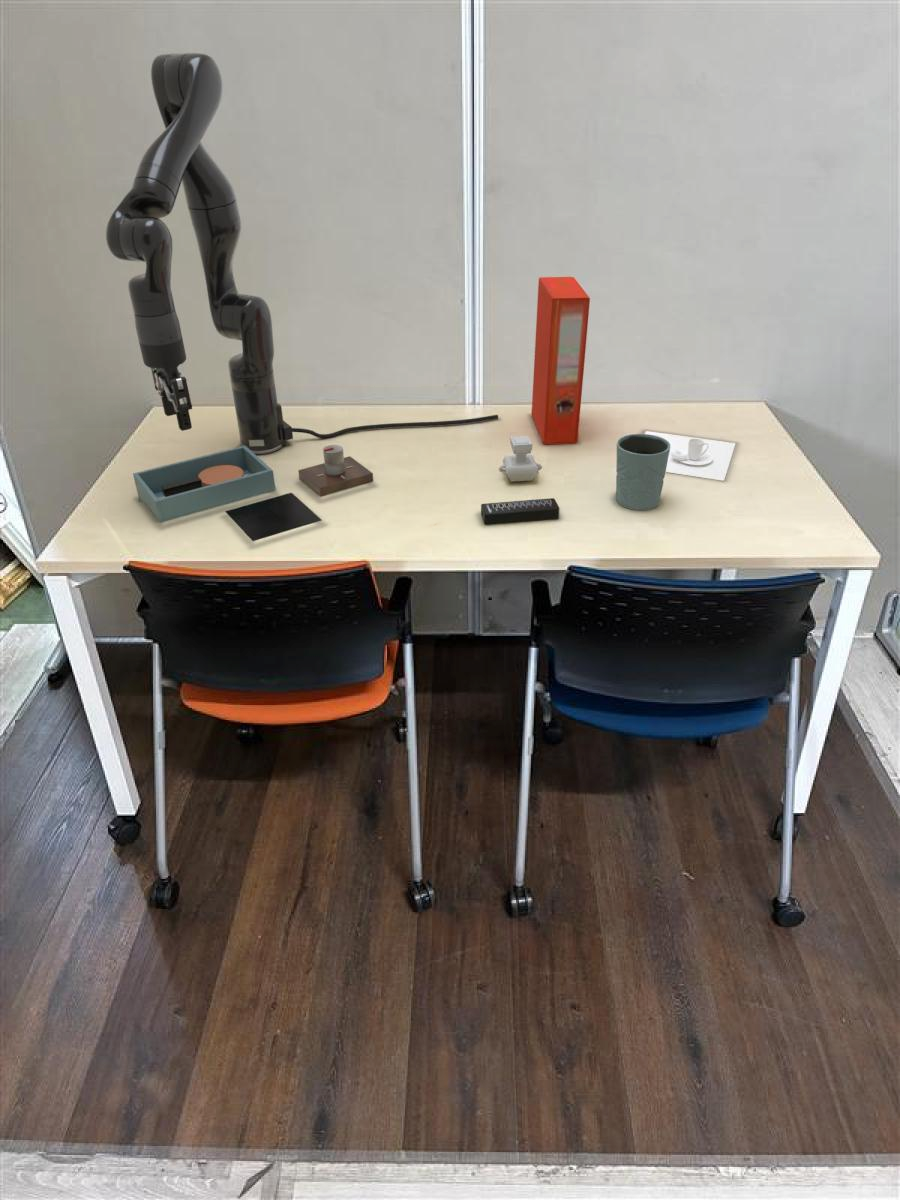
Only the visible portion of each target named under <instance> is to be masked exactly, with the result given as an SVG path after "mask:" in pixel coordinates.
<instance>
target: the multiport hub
mask: <svg viewBox="0 0 900 1200" xmlns="http://www.w3.org/2000/svg"><path fill="white" fill-rule="evenodd" d="M480 516H481V517H480V518H481V519H482V522H483V525H485V526H493V525H505V524H515V523H516V524H517V523H528V522H538V521H539V522H540V521H552V520H553V521H554V520H558V519H559V518H560V506H559V503H558V502H557V500H556V498H553V497H552V498H551V497H549V498H538V499H537V498H536V499H524V500H512V501H499V502H489V503H481V504H480Z"/></svg>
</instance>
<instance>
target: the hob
mask: <svg viewBox="0 0 900 1200" xmlns="http://www.w3.org/2000/svg"><path fill="white" fill-rule="evenodd" d="M224 512H225V513H226V514H227V515H228V516H229V517H230V519H231V520H232V521H233V522H234V523H235V524H236V525H237V526H238V527H239V528H240V530H242V532H243V533H244V534H245V535H246V536H247V538H249V539H250V540H251V541H252V542H256V541H259V540H262V539H266V538H270V537H272V536H275V535H279V534H282V533H285V532H288V531H292V530H295V529H299V528H301V527H305V526H308V525H311V524H315V523H318V522H321V521H322V520H323V519H321V517H319V516H318V515H317V513H315V512H314V511H312V509H310V508H309V507H308V506H307V505H306V504H305V503H304V502H303V501H301V500H300V498H298V497H297V496H296V495H295V494H294V493H293V492H288V493H284V494H281V495H277V496H274V497H271V498H266V499H264V500H260V501H256V502H252V503H248V504H245V505H242V506H239V507H236V508H232V509H229V510H225V511H224Z"/></svg>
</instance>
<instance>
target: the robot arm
mask: <svg viewBox="0 0 900 1200" xmlns="http://www.w3.org/2000/svg"><path fill="white" fill-rule="evenodd" d="M151 63H152V64H151V68H150V78H151V86H152V90H153V94H154V95H153V96H154V98H155V102H156V105H157V108H158V111H159V114H160V117H161V120H162V123H163V125H164V128H165V130H164V131H162V132H161V134H160V135H158V136H157V138H156V139H154V141H153V142H152V143H151V144H150V145H149V147H148V148H147V149H146V150H145V152H144V154H143V155H142V157H141V160H140V162H139V165H138V168H137V171H136V173H135V177H134V180H133V182H132V186H131V188H130V190H129V191H128V192H127V193H126V194H125V195H124V197H123V198H122V200H121V201H120V203H118V205H117V206H116V208H115V209H114V211H113V212H112V214H111V215H110V217H109V219H108V222H107V224H106V228H105V242H106V245H107V247H108V250H109V252H110V254H112V255H113V257H115V258H117V259H119V260H122V261H125V262H126V261H127V262H144V263H145V273H141V274H137V275H135V276H133V277H131V278H130V279H129V280H128V283H127V288H128V289H127V290H128V294H129V298H130V302H131V308H132V311H133V316H134V325H135V330H136V336H137V340H138V344H139V348H140V349H139V350H140V353H141V358H142V361H143V365H145V366H146V367H147V368H149V369H150V370H151V375H152V380H153V384H154V389H155V391H158V392H157V394H158V395H159V397H160V399H161V403H162V408H163V412H164V415H165V416H166V417H171V416H174V415H176V420H177V425H178V429H179V430H180V431H182V432H183V431H188V430H191V429H192V428H193V426H192V421H191V416H190V411H189V410H193V404H192V401H191V395H190V391H189V387H188V382H187V380H188V379H187V378H186V377H185V376H183V374H182V372H181V371H179V368H178V367H179V366H180V365H182V364H184V363H185V362H186V360H187V354H186V348H185V343H184V339H183V334H182V329H181V324H180V319H179V317H178V314H177V311H176V307H175V306H176V305H175V302H174V297H173V292H172V287H171V286H172V284H171V281H172V280H171V279H172V260H173V237H172V234H171V232H170V229H169V228H168V226H167V224H166V223H165V222H164V221H163V220H162V218H165V217H167V216H169V215H170V214H172V213H171V212H172V210H173V209H174V207H175V204H176V200H177V197H178V194H179V191H180V188H181V184H182V187H183V192H184V196H185V197H184V198H185V202H186V206H187V211H188V214H189V219H190V221H191V226H192V229H193V232H194V235H195V239H196V243H197V247H198V251H199V257H200V260H201V264H202V269H203V275H204V280H205V286H206V293H207V298H208V304H209V305H208V306H209V311H210V312H209V313H210V316H211V320H212V324H213V326H214V328H215V330H216V332H217V333H218V334H219V335H220V336H222V337H223V338H225V339H230V340H235V341H241V345H242V346H241V347H242V351H241V353H238V354H235V355H233V356H232V357H230V358H229V360H228V364H227V365H228V366H227V367H228V373H229V378H230V385H231V392H232V398H233V403H234V409H235V410H234V411H235V415H236V421H237V429H238V433H239V441H240V447H241V446H246V447H247V448H248V449H250V450H251V451H252V452H253V453H254V454H255V455H265V454H270V453H274V452H277V451H278V450H280V449H281V448H282V447H286V446H287V441H290V440H294V436H293V433H301V434H308V435H312V436H313V437H315V438H318V439H331V438H335V437H337V436H341V435H343V434H345V433H346V434H347V433H351V432H356V431H364V430H375V429H376V430H377V429H389V428H408V427H409V428H410V427H433V426H434V427H435V426H451V425H462V424H463V425H464V424H472V423H480V422H485V421H490V420H491V421H492V420H496V419H499V415H498V414H492V415H487V416H481V417H472V418H467V419H454V420H440V421H438V420H437V421H416V422H415V421H414V422H393V423H380V424H379V423H378V424H367V425H358V426H351V427H346V428H342V429H339V430H337V431H334V432H330V433H318V432H316V431H314V430H311V429H309V428H308V429H307V428H298V427H292V426H291V425H290V424H289V423H287V422H286V421H285V420H284V417H283V416H284V415H283V408H282V405H281V404H280V403H279V402H278V396H277V389H276V381H275V375H274V366H273V362H274V357H275V345H274V333H273V319H272V313H271V310H270V307H269V304H268V303H267V302H266V301H265V299H264V298H262V297H260V296H257V295H253V294H251V295H250V294H244V293H239V291H238V289H237V284H236V282H235V276H234V269H233V268H234V267H233V263H234V257H235V255H236V251H237V247H238V244H239V242H240V241H239V240H240V237H241V233H242V221H241V215H240V210H239V206H238V202H237V197H236V193H235V190H234V188H233V185H232V183H231V181H230V180H229V179H228V176H226V174H225V173H224V172H223V170H222V169H221V168H220V167H219V165H218V164H217V162H216V160H214V158H213V157H212V155H210V154H209V152H208V151H207V150H206V148H205V146H204V145H203V143H202V139H203V138H204V136H205V134H206V132H207V130H208V128H209V126H210V124H211V122H212V121H213V119H214V117H215V116H216V114H217V111H218V109H219V107H220V106H221V102H222V99H223V93H224V84H223V83H224V81H223V77H222V73H221V70H220V67H219V65H218V63H217V62H216V61H215V60H214V58H213V57H211V56H210V55H209V54H205V53H200V52H188V53H187V52H185V53H184V52H183V53H162V54H158V55H157V56H155V58H154V59H153V60H152V62H151ZM181 400H182V403H181Z"/></svg>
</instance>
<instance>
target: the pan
mask: <svg viewBox="0 0 900 1200" xmlns="http://www.w3.org/2000/svg"><path fill="white" fill-rule="evenodd" d="M243 476H245V475H244V473H243V470H242V469H241V468H239V467H237V466H233V465H219V466H214V467H210V468H207V469H205V470H203V471H202V472H200V473H199V475H198V477H194V478H191V479H187V480H183V481H179V482H175V483H171V484H168V485H164V486H161V487H162V492H163V495H164V497H168V496H171V495H175V494H179V493H183V492H186V491H190V490H194V489H198V488H201V487H205V486H209V485H213V484H216V483H220V482H224V481H228V480H231V479H235V478H239V477H243Z"/></svg>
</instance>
